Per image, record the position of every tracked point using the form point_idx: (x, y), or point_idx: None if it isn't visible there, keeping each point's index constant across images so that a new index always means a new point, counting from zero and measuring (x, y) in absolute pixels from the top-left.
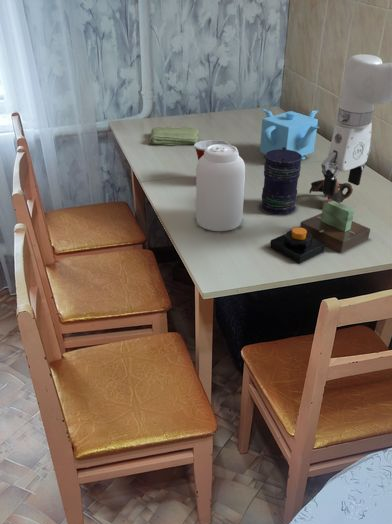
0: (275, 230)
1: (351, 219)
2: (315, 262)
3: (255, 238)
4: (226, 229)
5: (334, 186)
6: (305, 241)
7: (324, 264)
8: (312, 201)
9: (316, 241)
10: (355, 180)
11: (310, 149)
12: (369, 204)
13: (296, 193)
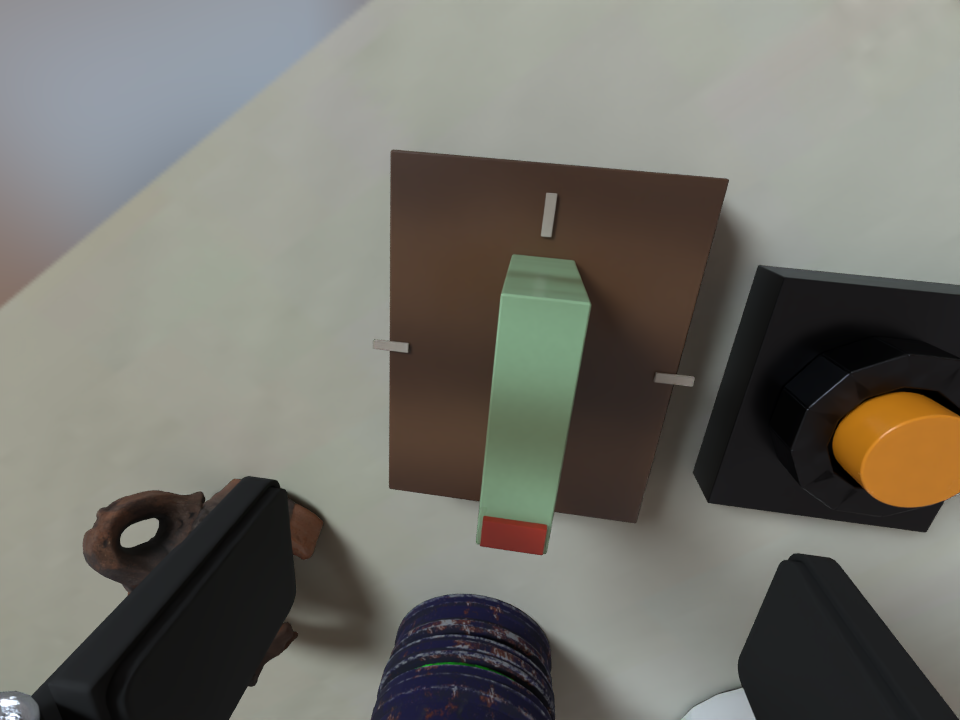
0: (684, 564)
1: (521, 272)
2: (928, 225)
3: None
4: None
5: (931, 694)
6: None
7: (925, 164)
8: (299, 583)
9: (783, 339)
10: (259, 556)
11: None
12: (77, 388)
13: (422, 685)
